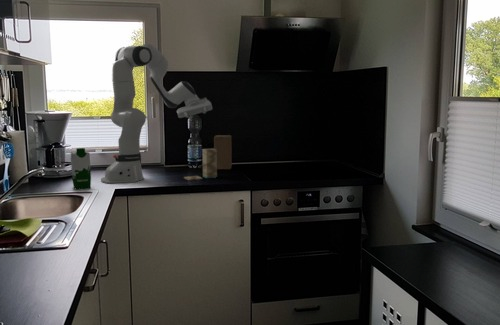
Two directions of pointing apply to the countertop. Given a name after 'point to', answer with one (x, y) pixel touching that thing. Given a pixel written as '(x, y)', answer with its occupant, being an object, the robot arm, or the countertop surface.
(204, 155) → the tall oak block
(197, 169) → the countertop surface
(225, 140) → the wooden block
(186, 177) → the cork trivet
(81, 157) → the milk carton
